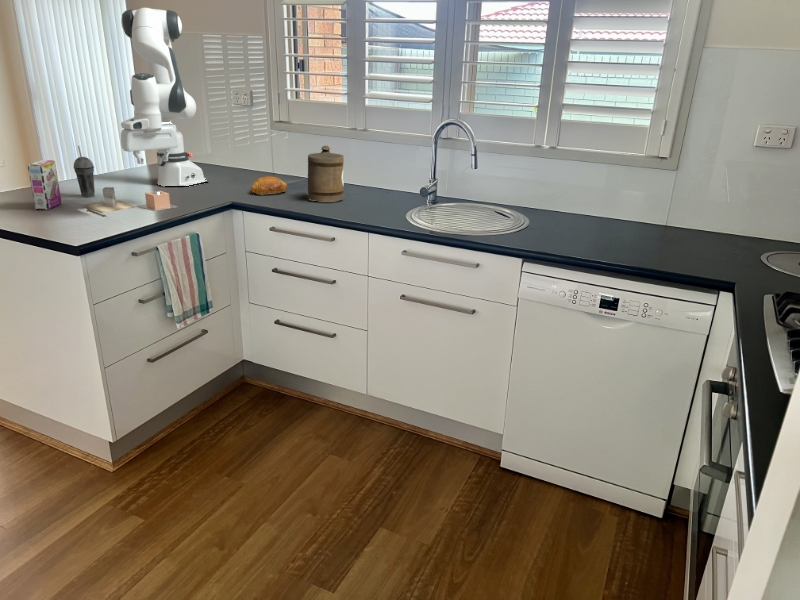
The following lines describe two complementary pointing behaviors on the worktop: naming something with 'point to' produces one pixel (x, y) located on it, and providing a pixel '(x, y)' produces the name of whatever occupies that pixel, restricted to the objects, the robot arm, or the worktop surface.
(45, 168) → the candy bar box
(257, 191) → the croissant
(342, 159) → the wooden container
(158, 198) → the collar
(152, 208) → the rod stand
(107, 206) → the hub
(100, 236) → the worktop surface
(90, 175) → the beverage cup
